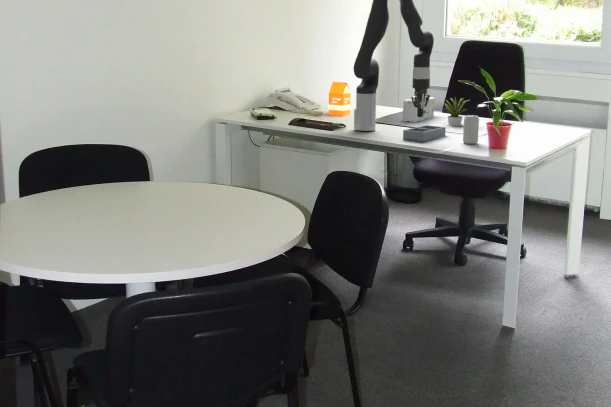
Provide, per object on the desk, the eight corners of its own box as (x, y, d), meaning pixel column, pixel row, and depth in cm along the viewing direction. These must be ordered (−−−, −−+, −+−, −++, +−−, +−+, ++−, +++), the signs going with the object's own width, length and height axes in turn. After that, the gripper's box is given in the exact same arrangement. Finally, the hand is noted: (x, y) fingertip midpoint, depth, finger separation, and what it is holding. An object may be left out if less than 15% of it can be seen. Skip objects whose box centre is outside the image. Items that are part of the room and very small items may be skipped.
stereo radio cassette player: (421, 121, 414) (422, 82, 409) (435, 122, 409) (437, 83, 404) (401, 126, 397) (403, 85, 392) (416, 127, 392) (417, 86, 388)
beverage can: (477, 144, 343) (479, 117, 340) (462, 144, 345) (464, 116, 342) (477, 142, 349) (479, 115, 347) (462, 141, 351) (464, 114, 348)
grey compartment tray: (423, 142, 348) (423, 132, 347) (402, 140, 355) (403, 130, 354) (445, 137, 363) (445, 127, 362) (425, 134, 370) (425, 125, 369)
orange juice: (342, 122, 410) (343, 83, 405) (328, 121, 414) (328, 82, 409) (350, 120, 416) (351, 82, 411) (335, 119, 421) (336, 81, 416)
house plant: (470, 127, 393) (472, 94, 389) (473, 131, 380) (475, 97, 376) (441, 126, 395) (442, 93, 391) (443, 131, 381) (444, 96, 377)
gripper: (421, 76, 356) (420, 114, 360) (406, 78, 346) (405, 117, 350) (436, 76, 352) (435, 116, 356) (421, 78, 342) (419, 119, 346)
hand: (420, 116), depth 353 cm, fingers closed
